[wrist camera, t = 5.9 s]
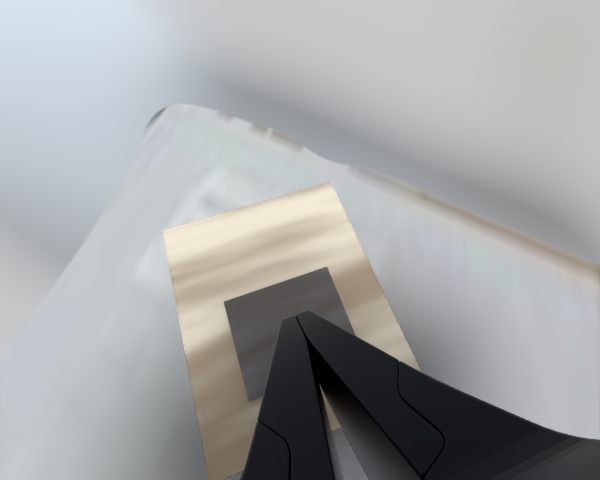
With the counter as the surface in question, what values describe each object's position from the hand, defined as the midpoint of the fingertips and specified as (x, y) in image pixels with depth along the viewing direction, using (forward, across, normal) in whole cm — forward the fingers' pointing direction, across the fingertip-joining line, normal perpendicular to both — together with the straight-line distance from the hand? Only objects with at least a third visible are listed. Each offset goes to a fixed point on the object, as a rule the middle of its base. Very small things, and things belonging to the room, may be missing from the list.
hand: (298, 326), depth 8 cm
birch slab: (+3, 0, +9) cm, 10 cm away
